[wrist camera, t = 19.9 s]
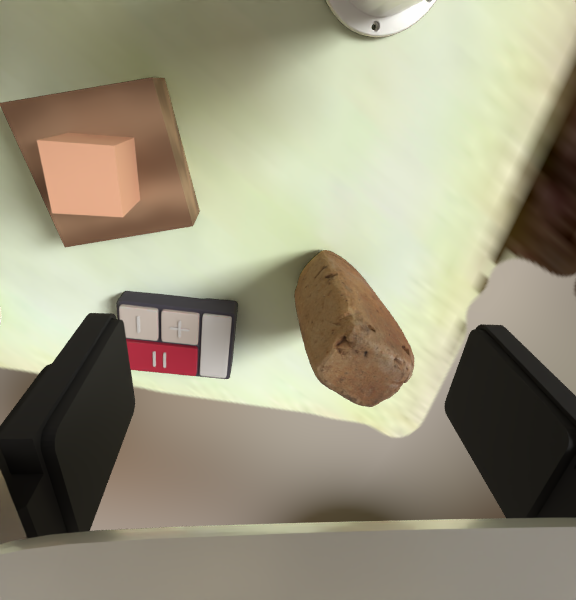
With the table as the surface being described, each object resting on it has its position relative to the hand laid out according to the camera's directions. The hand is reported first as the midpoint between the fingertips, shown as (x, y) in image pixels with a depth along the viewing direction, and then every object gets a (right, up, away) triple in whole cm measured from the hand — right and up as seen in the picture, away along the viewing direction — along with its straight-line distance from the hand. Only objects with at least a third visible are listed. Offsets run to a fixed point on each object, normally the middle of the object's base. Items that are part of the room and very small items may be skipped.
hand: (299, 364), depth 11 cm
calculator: (-15, -2, +45) cm, 47 cm away
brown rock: (+6, +4, +42) cm, 43 cm away
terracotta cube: (-18, +15, +28) cm, 36 cm away
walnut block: (-19, +17, +33) cm, 42 cm away
